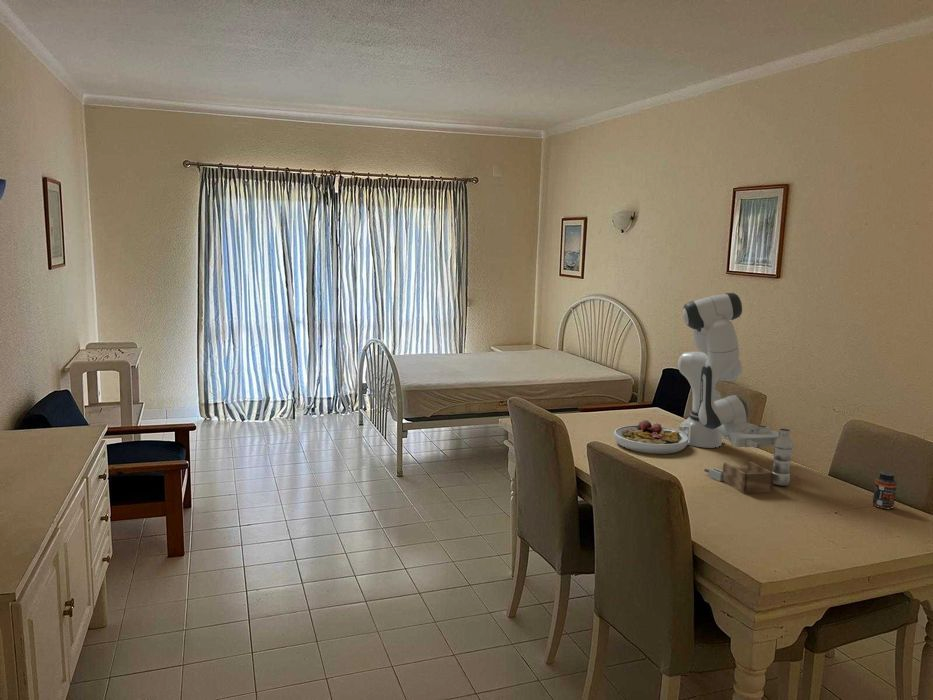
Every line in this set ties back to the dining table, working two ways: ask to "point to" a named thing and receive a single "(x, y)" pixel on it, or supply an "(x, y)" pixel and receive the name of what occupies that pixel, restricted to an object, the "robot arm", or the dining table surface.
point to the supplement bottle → (884, 490)
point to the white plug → (715, 474)
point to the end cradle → (748, 478)
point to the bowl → (650, 438)
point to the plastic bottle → (782, 458)
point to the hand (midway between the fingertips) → (769, 445)
